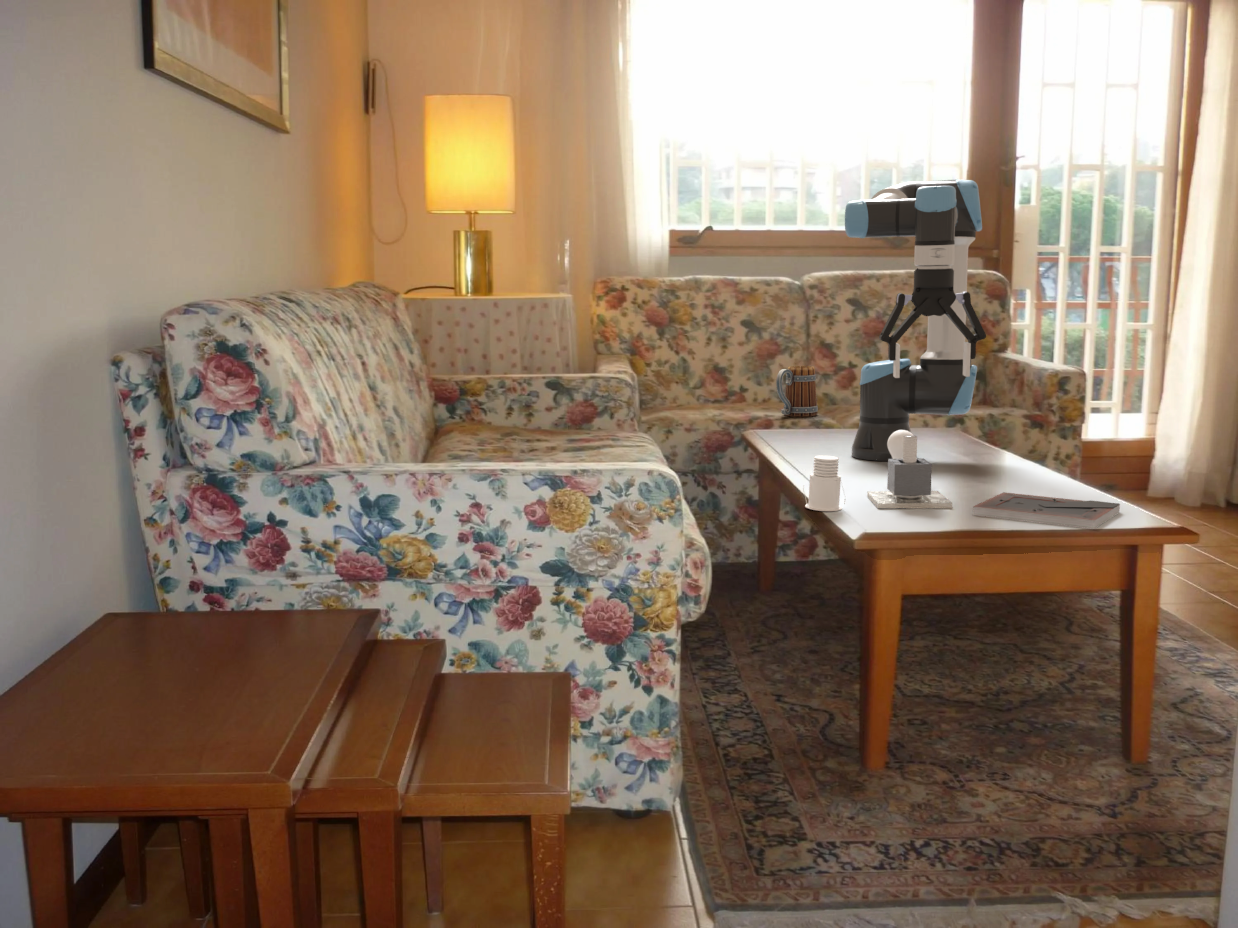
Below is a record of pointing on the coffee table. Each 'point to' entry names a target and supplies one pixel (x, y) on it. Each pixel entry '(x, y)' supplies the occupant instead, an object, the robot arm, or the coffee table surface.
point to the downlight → (824, 485)
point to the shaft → (909, 501)
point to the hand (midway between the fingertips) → (931, 376)
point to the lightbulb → (897, 443)
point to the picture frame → (1047, 510)
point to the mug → (798, 391)
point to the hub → (909, 477)
